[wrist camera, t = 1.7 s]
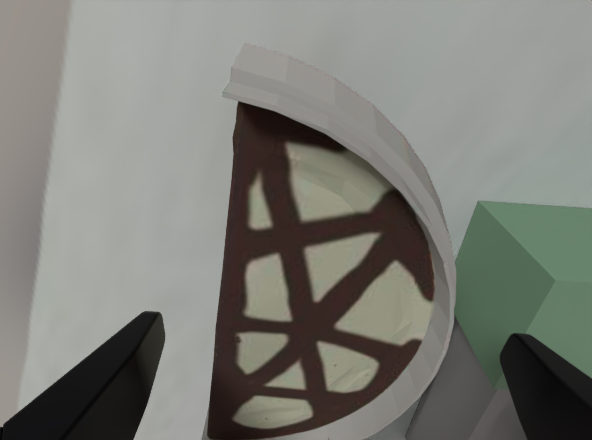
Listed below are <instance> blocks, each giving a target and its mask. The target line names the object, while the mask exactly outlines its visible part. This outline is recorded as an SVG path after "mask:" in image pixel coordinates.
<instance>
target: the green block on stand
mask: <svg viewBox="0 0 592 440" xmlns="http://www.w3.org/2000/svg"><path fill="white" fill-rule="evenodd" d="M455 266H456V303H455V307H454V314H455V318H454V325H453V329H452V333H451V337H450V342H449V346H448V350H447V352H446V355H445V357H444V359H443V361H442V363H441V365H440V367H439V370H438V372H437V374H436V376H435V377H434V378H433V380H432V381H431V383H430V384H429V385H428V387H427V388H426V390H425V391H424V392H423V395H422V397H421V400H420V402H419V405H418V407H417V409H416V412H415V414H414V417H413V419H412V421H411V424H410V426H409V429H408V431H407V434H406V436H405V437H406V440H527V438H526V435H525V433H524V431H523V428H522V426H521V423H520V421H519V418H518V415H517V413H516V410H515V407H514V404H513V401H512V398H511V395H510V392H509V389H508V385H507V382H506V379H505V376H504V373H503V370H502V367H501V364H500V353H501V351H502V349H503V347H504V345H505V343H506V341H507V340H508V338H509V336H510V335H511V334H513V333H525V334H530V335H532V336H533V337H535V338H536V339H538V340H539V341H540V342H542V343H543V344H544V345H546V346H547V347H549V348H550V349H551V350H553V351H554V352H556V353H557V354H558V355H560V356H561V357H563V358H564V359H565V360H567V361H568V362H570V363H571V364H572V365H574V366H575V367H577V368H578V369H579V370H581V371H582V372H583V373H585V374H586V375H588V376H589V377H590V378H592V209H589V208H574V207H560V206H545V205H531V204H516V203H502V202H487V201H478V203H477V205H476V208H475V211H474V213H473V216H472V219H471V221H470V224H469V227H468V229H467V232H466V235H465V237H464V240H463V243H462V245H461V248H460V251H459V253H458V256H457V259H456V262H455Z"/></svg>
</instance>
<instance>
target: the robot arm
mask: <svg viewBox="0 0 592 440" xmlns="http://www.w3.org/2000/svg"><path fill="white" fill-rule="evenodd" d="M164 343H165V330H164V324H163V318H162V314H161V313H160V312H153V311H144V312H142V313H141V314H140V315H138V316H137V317H136V318H135V319H133V320H132V321H131V322H130V323H128V324H127V325H126V326H125V327H123V328H122V329H121V330H120V331H118V332H117V333H116V334H115V335H113V336H112V337H111V338H110V339H108V340H107V341H106V342H105V343H104V344H102V345H101V346H100V347H99V348H97V349H96V350H95V351H94V352H92V353H91V354H90V355H89V356H87V357H86V358H85V359H84V360H82V361H81V362H80V363H79V364H77V365H76V366H75V367H74V368H72V369H71V370H70V371H69V372H68V373H66V374H65V375H64V376H63V377H61V378H60V379H59V380H58V381H56V382H55V383H54V384H53V385H51V386H50V387H49V388H48V389H46V390H45V391H44V392H43V393H41V394H40V395H39V396H38V397H36V398H35V399H34V400H33V401H32V402H30V403H29V404H28V405H27V406H25V407H24V408H23V409H22V410H20V411H19V412H18V413H17V414H15V415H14V416H13V417H12V418H10V419H9V420H8V421H7V422H5V423H4V425H3V427H0V440H133V439H134V437H135V434H136V432H137V429H138V427H139V424H140V422H141V419H142V417H143V414H144V411H145V409H146V406H147V403H148V400H149V397H150V393H151V390H152V386H153V383H154V379H155V375H156V372H157V368H158V365H159V361H160V357H161V354H162V350H163V347H164ZM500 364H501V367H502V370H503V373H504V376H505V379H506V382H507V385H508V389H509V392H510V395H511V398H512V401H513V404H514V407H515V410H516V413H517V415H518V418H519V421H520V423H521V426H522V428H523V431H524V433H525V435H526V438H527V440H592V378H590V377H589V376H588V375H586V374H585V373H583V372H582V371H581V370H579V369H578V368H577V367H575V366H574V365H572V364H571V363H570V362H568V361H567V360H565V359H564V358H563V357H561V356H560V355H558V354H557V353H556V352H554V351H553V350H551V349H550V348H549V347H547V346H546V345H544V344H543V343H542V342H540V341H539V340H538V339H536V338H535V337H533V336H532V335H530V334H525V333H513V334H511V335H510V336H509V338H508V340H507V341H506V343H505V345H504V347H503V349H502V351H501V353H500Z"/></svg>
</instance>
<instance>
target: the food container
mask: <svg viewBox="0 0 592 440" xmlns="http://www.w3.org/2000/svg"><path fill="white" fill-rule="evenodd" d="M222 97H226V98H229V99H233V100H236V101H238V106H237V116H236V124H235V129H234V133H233V152H234V155H233V169H232V181H231V190H230V200H229V209H228V219H227V228H226V239H225V249H224V260H223V270H222V279H221V287H220V296H219V305H218V313H217V322H216V332H215V348H214V362H213V372H212V382H211V392H210V403H209V408H208V413H207V417H206V422H205V426H204V431H203V436H202V440H365V439H366V438H368V437H370V436H372V435H374V434H376V433H377V432H379V431H381V430H382V429H383V428H385V427H386V426H388V425H389V424H390V423H392V422H393V421H394V420H396V419H397V418H398V417H400V416H401V415H402V414H403V413H404V412H405V411H406V410H407V409H408V408H409V407H410V406H411V405H412V404H413V403H414V402H415V401H417V400H418V399H419V398H420V396H421V395H422V394H423V392H424V391H425V390H426V388H427V387H428V385H429V384H430V383H431V381H432V380H433V378H434V377H435V376H436V374H437V372H438V370H439V367H440V365H441V363H442V361H443V359H444V357H445V355H446V352H447V350H448V346H449V342H450V337H451V333H452V329H453V325H454V307H455V303H456V266H455V261H454V256H453V251H452V246H451V241H450V236H449V233H448V229H447V225H446V221H445V218H444V214H443V210H442V207H441V203H440V200H439V197H438V195H437V193H436V191H435V188H434V186H433V184H432V181H431V179H430V177H429V174H428V172H427V170H426V168H425V166H424V165H423V163H422V162H421V160H420V159H419V157H418V156H417V154H416V153H415V151H414V150H413V149H412V147H411V146H410V144H409V143H408V141H407V140H406V138H405V137H404V135H403V134H402V133H401V132H400V131H399V130H398V129H397V128H396V127H395V126H394V125H393V124H392V123H391V122H390V121H389V120H388V119H387V118H386V117H385V116H384V115H383V114H382V113H381V112H380V111H379V110H378V109H377V108H376V107H375V106H374V105H373V104H372V103H370V102H369V101H367V100H366V99H364V98H363V97H362V96H360V95H359V94H357V93H356V92H355V91H353V90H352V89H350V88H349V87H347V86H346V85H345V84H343V83H342V82H340V81H339V80H337V79H336V78H335V77H333V76H331V75H328V74H326V73H324V72H322V71H320V70H318V69H316V68H314V67H312V66H310V65H307V64H305V63H303V62H301V61H299V60H297V59H295V58H293V57H291V56H288V55H285V54H281V53H278V52H274V51H271V50H267V49H264V48H261V47H257V46H254V45H250V44H247V43H244V45H243V47H242V49H241V51H240V52H239V54H238V56H237V58H236V60H235V61H234V63H233V65H232V67H231V80H230V83H229V84H228V85H227V86H226V88H225V89H224V90H223V95H222Z"/></svg>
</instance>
